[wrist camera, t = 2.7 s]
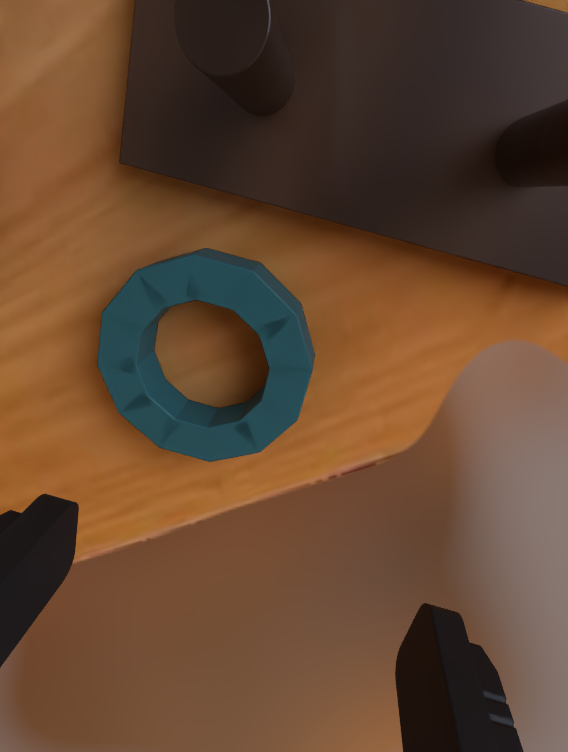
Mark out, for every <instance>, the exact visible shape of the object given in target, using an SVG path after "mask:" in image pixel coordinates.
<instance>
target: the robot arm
mask: <svg viewBox="0 0 568 752" xmlns="http://www.w3.org/2000/svg"><path fill="white" fill-rule="evenodd" d="M78 511H79V507H78V504H77V503H76V502H72V501H69V500H65V499H62V498H58V497H55V496H51V495H48V494H42V495H40V496H39V497H38V498H37V499H36V500H35V501H34V502H33V503H32V504H31V505H30V506H28V507H27V508H26V509H25V510H24V511H23V512H22V513H19V512H16V511H12V510H10V511H8V512H6V513H4V514H2V515H0V667H1V666H2V664H3V663H4V662H5V660H6V659H7V657H8V656H9V655H10V653H11V652H12V651H13V649H14V648H15V647H16V645H17V644H18V643H19V641H20V640H21V638H22V637H23V636H24V634H25V633H26V632H27V630H28V629H29V627H30V626H31V625H32V623H33V622H34V621H35V619H36V618H37V616H38V615H39V614H40V612H41V611H42V610H43V608H44V607H45V606H46V604H47V603H48V601H49V600H50V599H51V597H52V596H53V595H54V593H55V592H56V590H57V589H58V588H59V586H60V585H61V584H62V582H63V581H64V579H65V577H66V576H67V574H68V572H69V570H70V567H71V565H72V562H73V559H74V555H75V546H76V534H77V523H78ZM395 675H396V676H395V677H396V688H397V697H398V707H399V716H400V725H401V734H402V744H403V752H523V749H522V746H521V743H520V740H519V736H518V734H517V730H516V728H514V726H513V723H514V721H513V718H512V715H511V712H510V709H509V706H508V705H507V704H506V696H505V693H504V690H503V687H502V684H501V681H500V678H499V675H498V672H497V670H496V669H495V667H494V666H493V664H492V662H491V661H490V659H489V658H488V656H487V655H486V653H485V652H484V650H483V649H482V647H481V646H479V645H476V644H473V643H469V640H468V637H467V633H466V630H465V626H464V622H463V620H462V617H461V615H460V614H459V613H458V612H455V611H451V610H448V609H444V608H441V607H437V606H434V605H430V604H427V603H424V604H422V605H421V607H420V608H419V610H418V612H417V614H416V616H415V618H414V620H413V622H412V624H411V626H410V628H409V630H408V632H407V634H406V636H405V638H404V640H403V642H402V644H401V646H400V649H399V652H398V655H397V660H396V672H395Z"/></svg>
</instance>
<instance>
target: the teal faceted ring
mask: <svg viewBox="0 0 568 752" xmlns="http://www.w3.org/2000/svg"><path fill="white" fill-rule="evenodd" d="M194 300H199V301H202V302H206V303H210V304H213V305H217V306H220V307H224V308H228V309H231V310H233V311H234V312H235V313H236V314H237V315H238V316H239V317H240V318H241V319H242V320H244V321H245V322H246V323H247V324H248V325H249V326H250V327H251V328H252V329H253V330H254V331H255V332H256V333H257V334H258V335H259V337H260V340H261V343H262V347H263V350H264V353H265V356H266V360H267V363H268V366H269V373H268V376H267V380H266V384H265V386H264V387H262V388H261V389H260V390H259V391H258V392H257V393H256V394H255V395H254V396H253V397H252V398H251V399H250V400H248V401H247V402H245V403H241V404H236V405H231V406H227V407H222V408H216V407H212V406H209V405H205V404H202V403H198V402H194V401H191V400H188V399H187V398H186V397H185V396H184V395H183V394H181V393H180V392H179V391H178V390H177V389H176V388H175V387H174V386H172V385H171V384H170V383H169V382H168V381H167V380H166V379H165V377H164V374H163V372H162V369H161V367H160V364H159V362H158V359H157V356H156V354H155V351H154V348H155V341H156V334H157V327H158V321H159V320H160V319H161V317H162V316H163V315H164V314H165V313H166V312H167V311H168V310H169V308H170V307H171V306H175V305H179V304H182V303H186V302H190V301H194ZM314 357H315V353H314V349H313V345H312V342H311V338H310V334H309V330H308V327H307V323H306V319H305V316H304V312H303V308H302V304H301V303H300V302H299V301H298V300H297V299H296V298H295V297H294V296H293V295H292V294H291V293H290V292H289V291H288V290H287V289H286V288H285V287H284V286H283V285H282V284H281V283H280V282H279V281H278V280H277V279H276V278H275V277H274V276H273V275H272V274H271V273H270V272H269V271H268V270H267V269H266V268H265V267H264V266H263V265H262V264H261V263H259V262H256V261H252V260H248V259H245V258H241V257H238V256H234V255H230V254H227V253H223V252H220V251H216V250H212V249H209V248H204V249H201V250H197V251H194V252H190V253H187V254H183V255H180V256H176V257H173V258H170V259H166V260H163V261H159V262H156V263H153V264H151V265H148V266H146V267H143V268H140V269H138V270H137V271H135V273H134V274H133V275H132V276H131V277H130V279H129V280H128V281H127V282H126V284H125V285H124V286H123V287H122V288H121V290H120V291H119V292H118V293H117V295H116V296H115V297H114V298H113V299H112V301H111V302H110V303H109V304H108V306H107V307H106V308H105V309H104V310H103V312H102V320H101V330H100V340H99V351H98V361H97V365H98V368H99V370H100V372H101V374H102V377H103V379H104V381H105V383H106V386H107V388H108V390H109V392H110V395H111V397H112V399H113V401H114V404H115V406H116V408H117V410H118V413H120V414H121V415H122V416H123V417H124V418H125V419H126V420H128V421H129V422H130V423H131V424H132V425H134V426H135V427H136V428H137V429H138V430H139V431H141V432H142V433H143V434H144V435H145V436H146V437H148V438H149V439H150V440H151V441H152V442H154V443H155V444H156V445H157V446H158V447H160V448H162V449H166V450H169V451H173V452H176V453H180V454H184V455H187V456H191V457H194V458H198V459H201V460H205V461H208V462H210V461H217V460H222V459H227V458H232V457H238V456H243V455H248V454H254V453H258V452H261V451H262V450H263V449H264V448H266V447H267V446H268V445H269V444H270V443H271V442H273V441H274V440H275V439H276V438H277V437H278V436H280V435H281V434H282V433H283V432H284V431H285V430H287V429H288V428H289V427H290V426H291V425H292V424H294V423H295V422H296V421H297V420H298V417H299V414H300V410H301V407H302V404H303V400H304V397H305V394H306V390H307V387H308V384H309V380H310V377H311V374H312V370H313V364H314Z"/></svg>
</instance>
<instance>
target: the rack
mask: <svg viewBox="0 0 568 752" xmlns="http://www.w3.org/2000/svg"><path fill="white" fill-rule="evenodd" d="M119 162H120V163H121V164H125V165H129V166H132V167H136V168H139V169H143V170H147V171H150V172H154V173H158V174H161V175H165V176H168V177H172V178H176V179H179V180H183V181H187V182H190V183H194V184H197V185H201V186H205V187H208V188H212V189H216V190H219V191H223V192H227V193H230V194H234V195H237V196H241V197H245V198H248V199H252V200H256V201H259V202H263V203H266V204H270V205H274V206H277V207H281V208H285V209H288V210H292V211H295V212H299V213H303V214H306V215H310V216H314V217H317V218H321V219H324V220H328V221H332V222H335V223H339V224H343V225H346V226H350V227H354V228H357V229H361V230H364V231H368V232H372V233H375V234H379V235H383V236H386V237H390V238H393V239H397V240H401V241H404V242H408V243H412V244H415V245H419V246H422V247H426V248H430V249H433V250H437V251H441V252H444V253H448V254H451V255H455V256H459V257H462V258H466V259H470V260H473V261H477V262H481V263H484V264H488V265H491V266H495V267H499V268H502V269H506V270H510V271H513V272H517V273H520V274H524V275H528V276H531V277H535V278H539V279H542V280H546V281H549V282H553V283H557V284H560V285H564V286H568V13H567V12H563V11H560V10H556V9H552V8H548V7H545V6H541V5H537V4H534V3H530V2H526V1H523V0H135V10H134V20H133V30H132V40H131V50H130V60H129V70H128V80H127V90H126V101H125V111H124V121H123V131H122V141H121V151H120V161H119Z"/></svg>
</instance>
